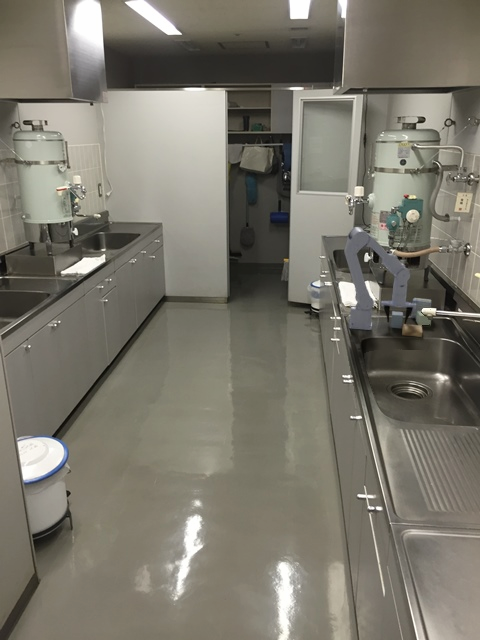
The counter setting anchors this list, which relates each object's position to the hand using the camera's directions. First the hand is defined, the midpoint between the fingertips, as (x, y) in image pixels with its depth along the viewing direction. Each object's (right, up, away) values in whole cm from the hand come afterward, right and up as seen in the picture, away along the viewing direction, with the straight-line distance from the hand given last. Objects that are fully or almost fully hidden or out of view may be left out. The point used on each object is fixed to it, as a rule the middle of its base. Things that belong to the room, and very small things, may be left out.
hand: (396, 322), depth 231 cm
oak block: (+5, -4, -6) cm, 9 cm away
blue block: (0, -2, +1) cm, 2 cm away
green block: (+13, -1, +3) cm, 13 cm away
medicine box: (+14, +2, +10) cm, 17 cm away
